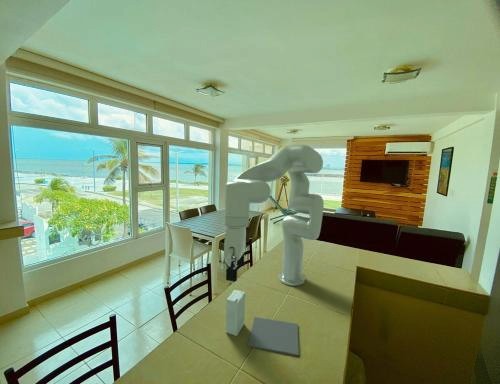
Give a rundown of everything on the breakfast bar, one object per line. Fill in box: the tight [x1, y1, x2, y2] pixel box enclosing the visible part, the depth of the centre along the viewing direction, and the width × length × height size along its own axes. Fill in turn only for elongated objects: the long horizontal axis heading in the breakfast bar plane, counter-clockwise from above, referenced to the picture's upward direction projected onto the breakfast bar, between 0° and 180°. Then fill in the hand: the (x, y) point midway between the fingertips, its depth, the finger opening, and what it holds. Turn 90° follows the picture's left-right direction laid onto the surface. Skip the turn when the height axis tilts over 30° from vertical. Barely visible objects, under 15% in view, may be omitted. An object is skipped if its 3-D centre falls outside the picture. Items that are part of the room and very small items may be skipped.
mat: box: [247, 316, 300, 357], centre depth 68 cm, size 12×15×1 cm
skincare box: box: [225, 289, 246, 337], centre depth 69 cm, size 6×4×12 cm
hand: (235, 272), depth 67 cm, fingers open, 9 cm apart
